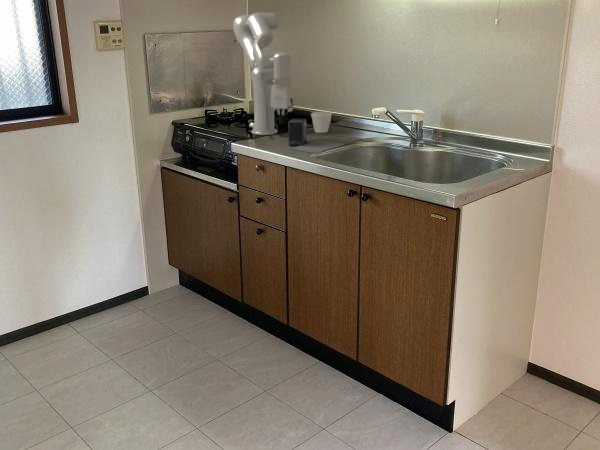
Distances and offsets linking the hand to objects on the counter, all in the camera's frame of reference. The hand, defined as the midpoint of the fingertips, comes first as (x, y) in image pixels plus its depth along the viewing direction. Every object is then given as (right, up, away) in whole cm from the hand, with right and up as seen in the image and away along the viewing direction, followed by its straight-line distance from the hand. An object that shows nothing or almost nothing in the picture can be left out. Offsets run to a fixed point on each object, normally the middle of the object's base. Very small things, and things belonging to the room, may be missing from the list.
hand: (282, 123), depth 282 cm
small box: (+7, -9, -2) cm, 12 cm away
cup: (+18, -1, +23) cm, 29 cm away
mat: (+16, -12, -8) cm, 21 cm away
